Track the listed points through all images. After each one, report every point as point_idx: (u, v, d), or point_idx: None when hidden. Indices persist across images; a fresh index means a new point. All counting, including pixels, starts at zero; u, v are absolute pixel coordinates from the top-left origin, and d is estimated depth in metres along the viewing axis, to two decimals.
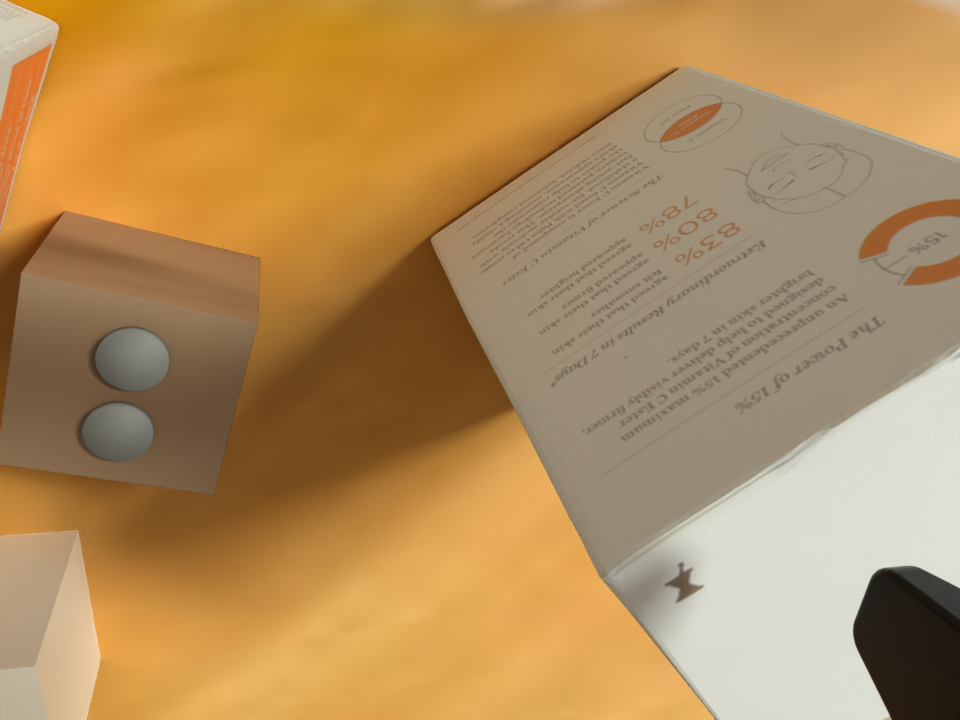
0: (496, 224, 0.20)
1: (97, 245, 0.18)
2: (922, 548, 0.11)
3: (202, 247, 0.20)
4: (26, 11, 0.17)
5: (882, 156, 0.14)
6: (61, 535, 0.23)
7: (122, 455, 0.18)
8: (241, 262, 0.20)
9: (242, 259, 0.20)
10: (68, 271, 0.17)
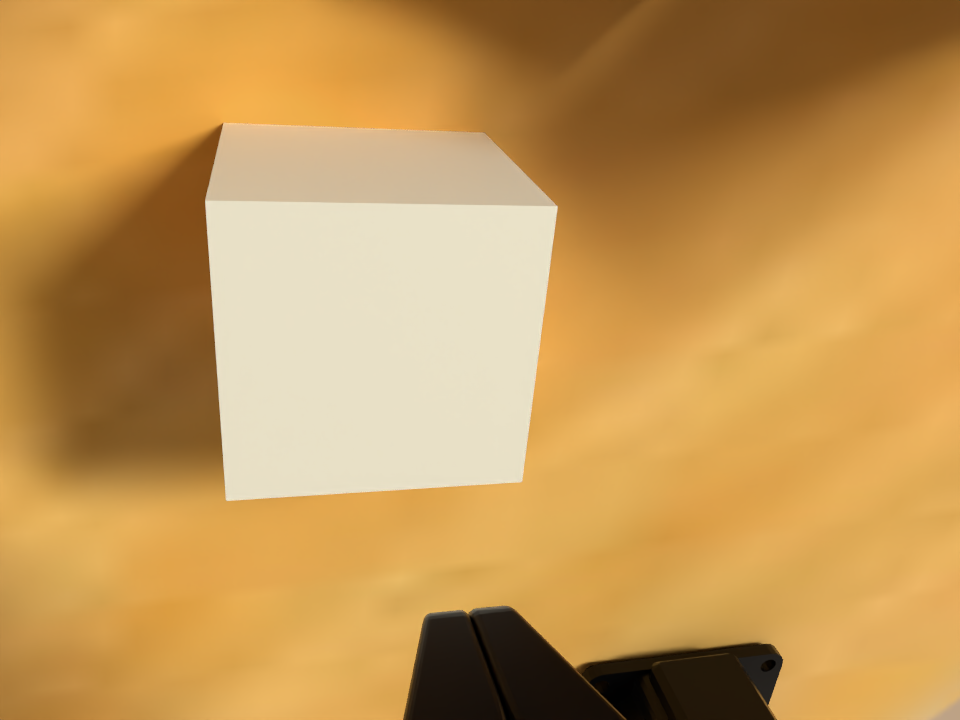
0: None
1: None
2: None
3: None
4: None
5: None
6: (467, 133, 0.16)
7: None
8: None
9: None
10: None
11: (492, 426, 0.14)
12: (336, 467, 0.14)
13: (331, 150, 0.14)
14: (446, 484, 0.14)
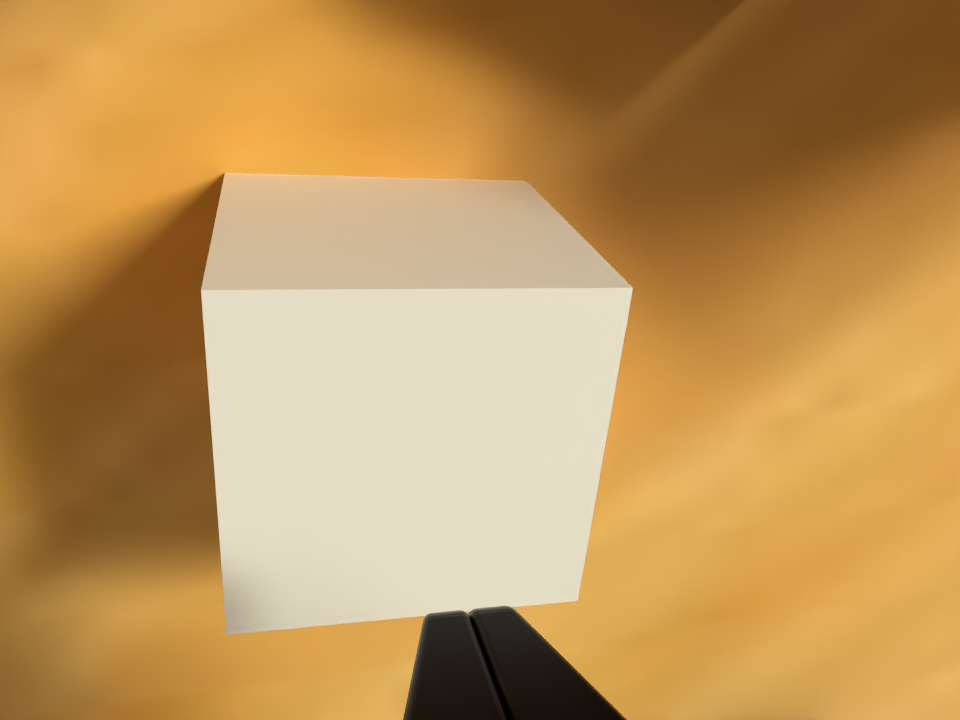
0: None
1: None
2: None
3: None
4: None
5: None
6: (507, 183, 0.14)
7: None
8: None
9: None
10: None
11: (544, 540, 0.12)
12: (360, 592, 0.11)
13: (353, 209, 0.12)
14: (488, 606, 0.12)
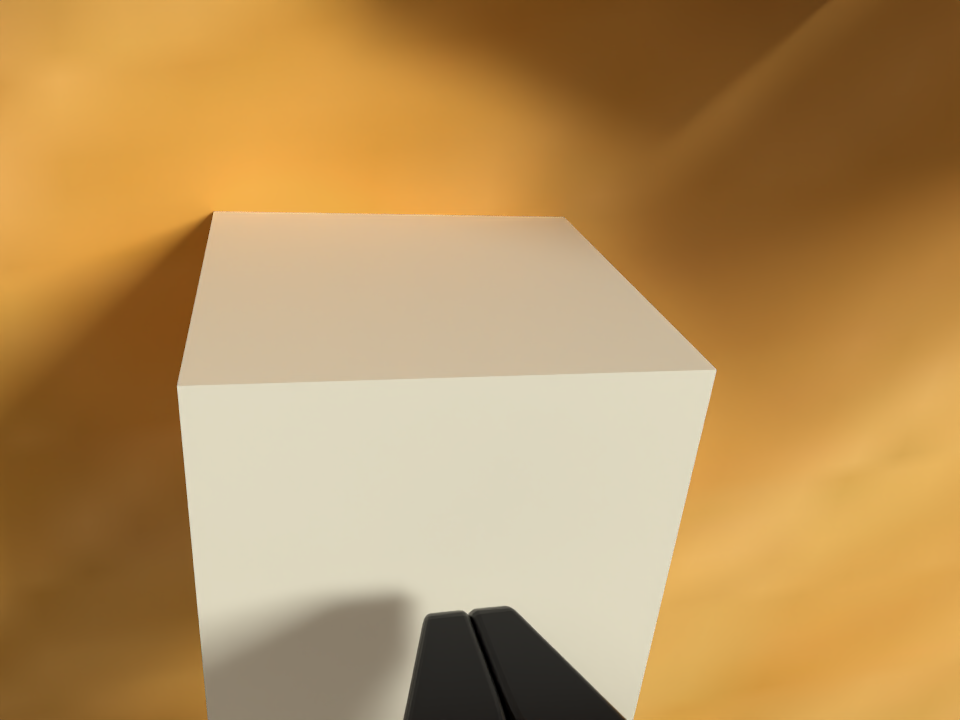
0: None
1: None
2: None
3: None
4: None
5: None
6: (542, 220, 0.12)
7: None
8: None
9: None
10: None
11: (597, 659, 0.10)
12: None
13: (366, 260, 0.10)
14: None
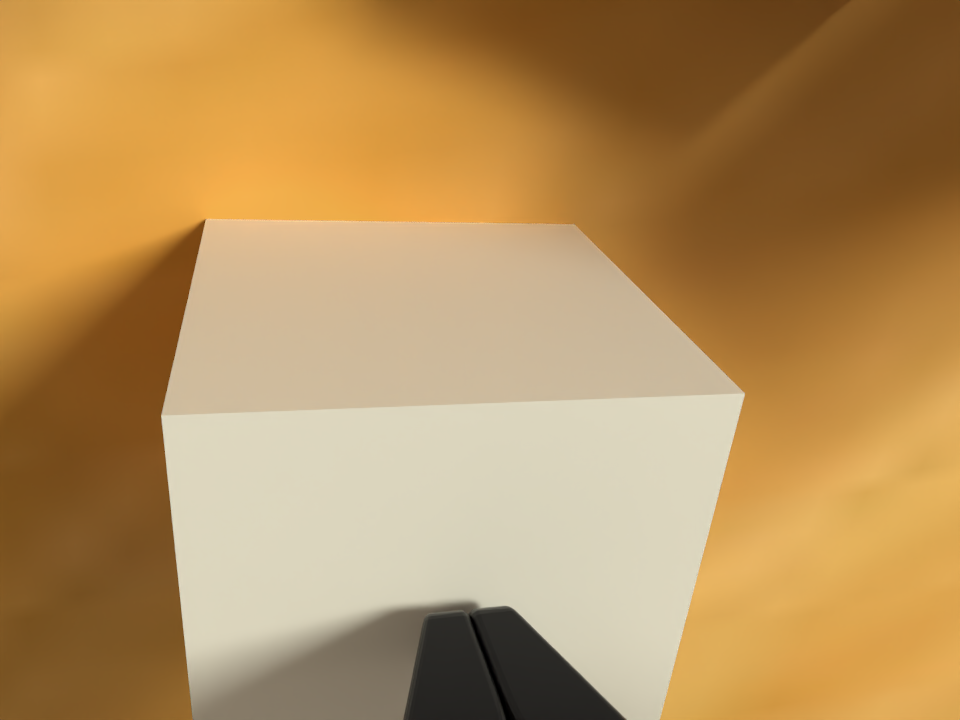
0: None
1: None
2: None
3: None
4: None
5: None
6: (552, 227, 0.12)
7: None
8: None
9: None
10: None
11: (612, 697, 0.09)
12: None
13: (366, 271, 0.09)
14: None
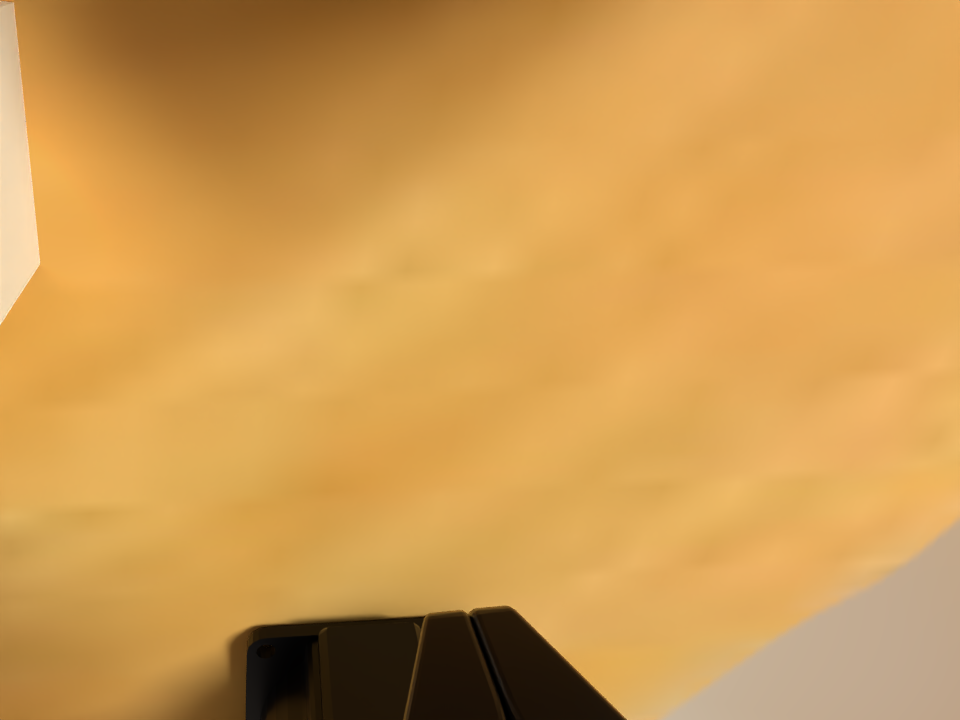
0: None
1: None
2: None
3: None
4: None
5: None
6: None
7: None
8: None
9: None
10: None
11: None
12: None
13: None
14: None
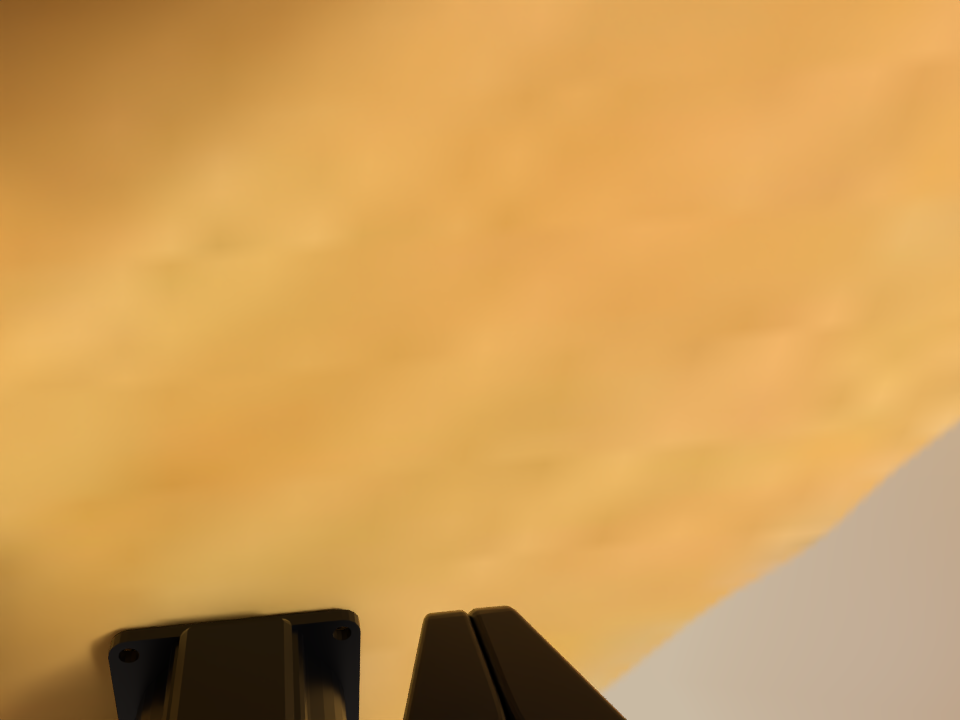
0: None
1: None
2: None
3: None
4: None
5: None
6: None
7: None
8: None
9: None
10: None
11: None
12: None
13: None
14: None
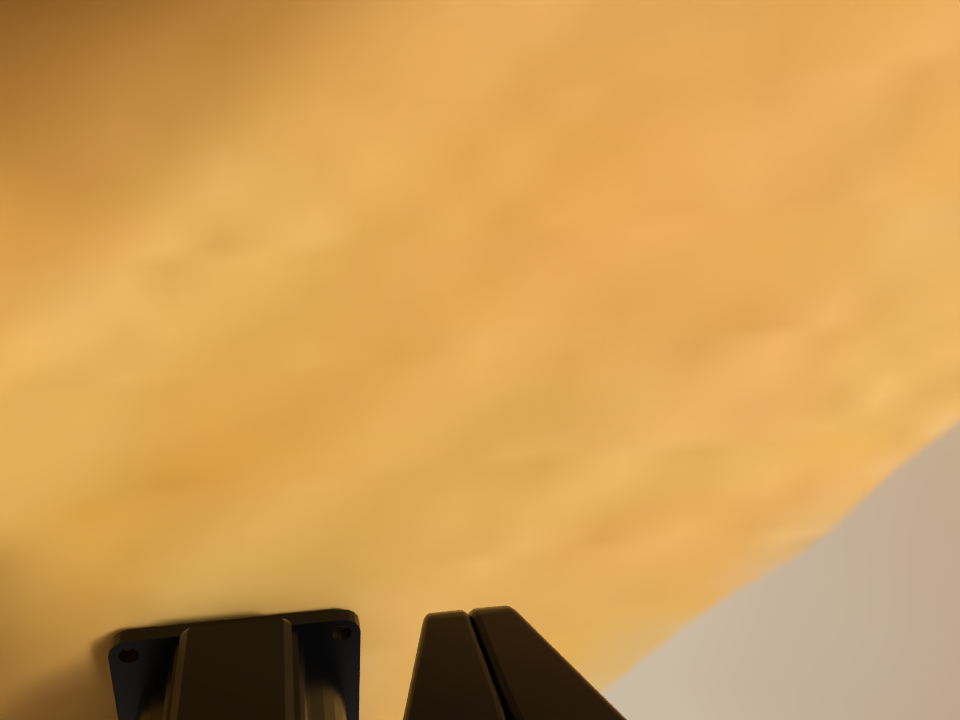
0: None
1: None
2: None
3: None
4: None
5: None
6: None
7: None
8: None
9: None
10: None
11: None
12: None
13: None
14: None
